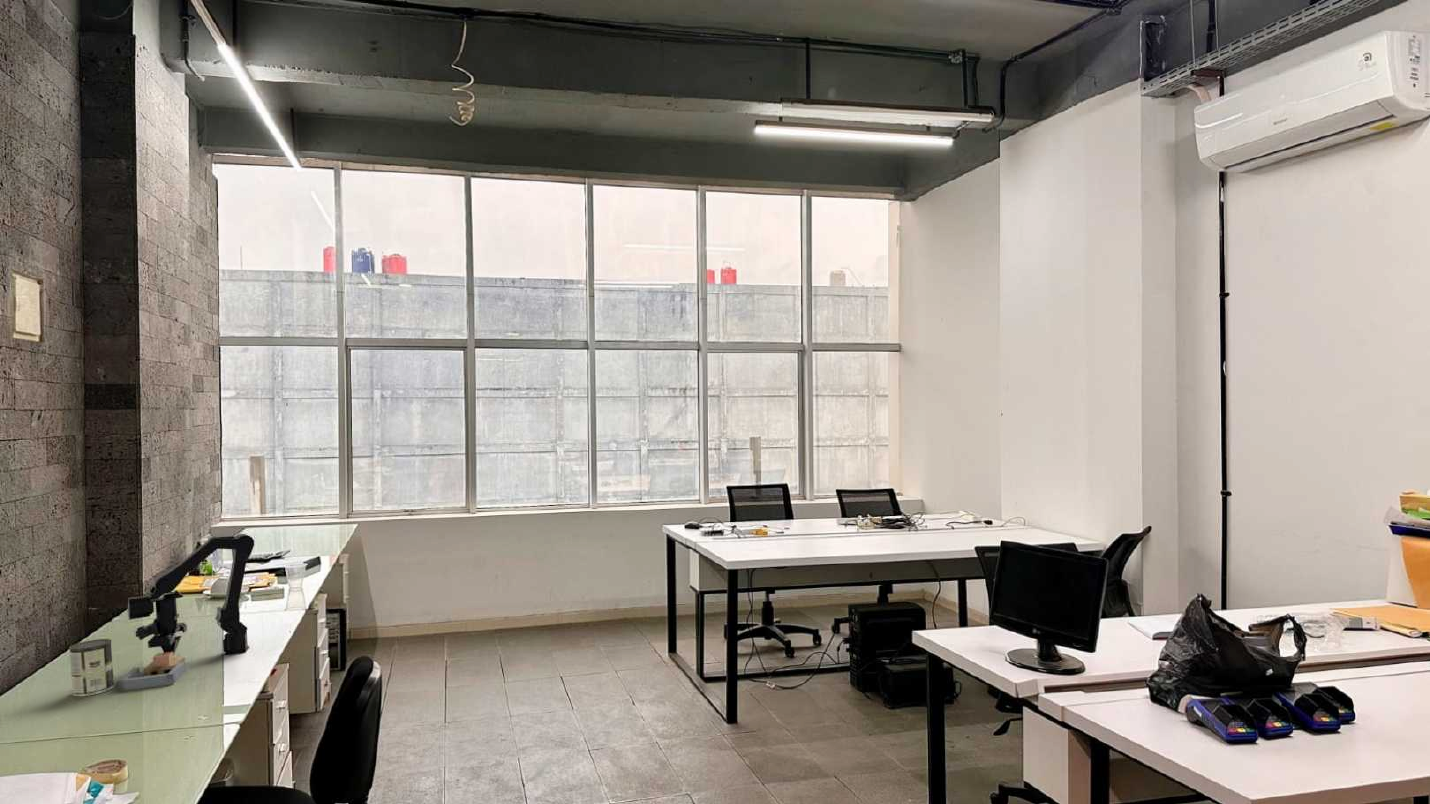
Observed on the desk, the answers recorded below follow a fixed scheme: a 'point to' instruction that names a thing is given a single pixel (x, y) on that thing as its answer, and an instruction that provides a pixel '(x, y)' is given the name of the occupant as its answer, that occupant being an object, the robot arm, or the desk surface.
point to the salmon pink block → (163, 659)
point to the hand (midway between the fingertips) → (169, 661)
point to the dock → (150, 678)
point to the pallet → (162, 667)
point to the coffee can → (91, 667)
